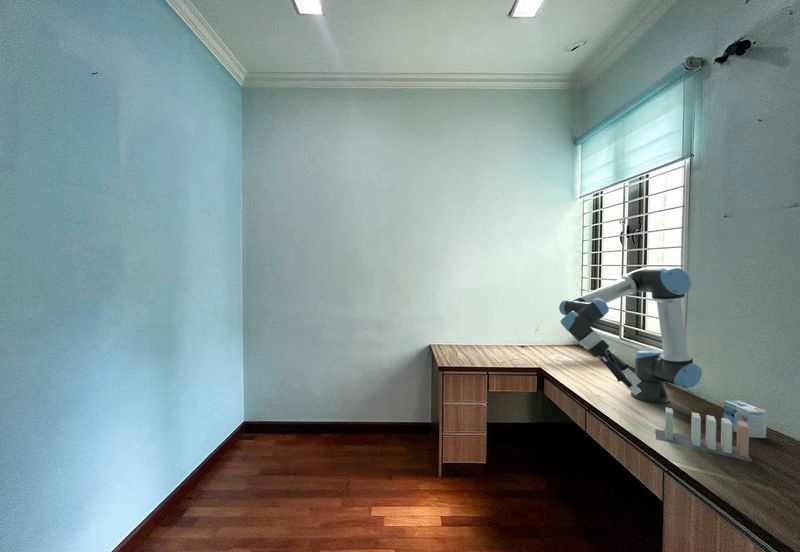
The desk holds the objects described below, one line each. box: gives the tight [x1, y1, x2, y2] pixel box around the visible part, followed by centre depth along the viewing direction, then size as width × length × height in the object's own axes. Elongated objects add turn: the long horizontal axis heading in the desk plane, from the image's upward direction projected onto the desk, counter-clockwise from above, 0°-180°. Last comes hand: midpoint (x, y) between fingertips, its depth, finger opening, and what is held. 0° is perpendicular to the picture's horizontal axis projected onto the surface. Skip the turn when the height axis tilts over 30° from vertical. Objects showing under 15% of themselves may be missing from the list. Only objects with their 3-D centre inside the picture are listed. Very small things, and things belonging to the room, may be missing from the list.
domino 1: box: [664, 406, 674, 440], centre depth 126 cm, size 5×2×10 cm, turn 145°
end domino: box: [736, 421, 750, 457], centre depth 115 cm, size 5×2×10 cm, turn 145°
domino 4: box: [720, 417, 733, 454], centre depth 117 cm, size 5×2×10 cm, turn 145°
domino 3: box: [705, 414, 717, 450], centre depth 120 cm, size 5×2×10 cm, turn 145°
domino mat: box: [654, 428, 753, 462], centre depth 121 cm, size 10×25×1 cm, turn 55°
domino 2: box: [690, 411, 702, 446], centre depth 122 cm, size 5×2×10 cm, turn 145°
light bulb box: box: [722, 400, 768, 439], centre depth 131 cm, size 11×7×11 cm, turn 178°
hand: (638, 388), depth 132 cm, fingers open, 13 cm apart
